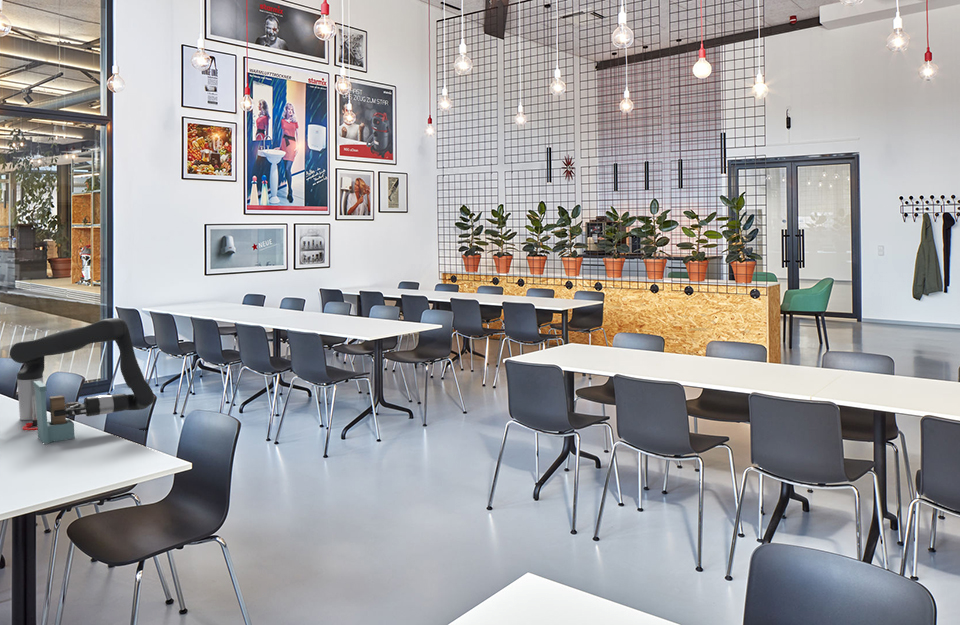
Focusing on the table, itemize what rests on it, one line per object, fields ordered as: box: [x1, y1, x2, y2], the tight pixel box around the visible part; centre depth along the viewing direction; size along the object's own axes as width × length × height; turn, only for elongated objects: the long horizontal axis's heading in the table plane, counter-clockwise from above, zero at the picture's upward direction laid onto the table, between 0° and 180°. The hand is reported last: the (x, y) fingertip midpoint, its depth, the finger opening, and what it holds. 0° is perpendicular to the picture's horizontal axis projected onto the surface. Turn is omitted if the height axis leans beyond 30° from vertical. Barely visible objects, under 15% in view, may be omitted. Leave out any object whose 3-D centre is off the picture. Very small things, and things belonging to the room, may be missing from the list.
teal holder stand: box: [33, 381, 76, 445], centre depth 274 cm, size 14×11×22 cm
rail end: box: [49, 395, 67, 425], centre depth 275 cm, size 4×4×16 cm
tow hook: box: [22, 395, 38, 431], centre depth 290 cm, size 8×13×9 cm
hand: (51, 411), depth 273 cm, fingers open, 8 cm apart
